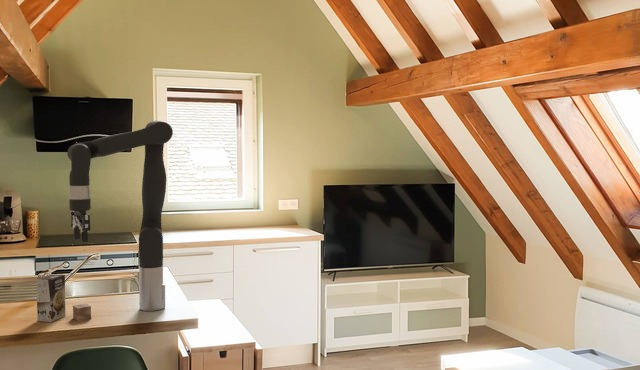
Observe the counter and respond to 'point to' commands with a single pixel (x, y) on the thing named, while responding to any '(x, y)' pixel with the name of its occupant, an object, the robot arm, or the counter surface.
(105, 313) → the counter surface
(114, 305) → the counter surface
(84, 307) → the walnut cube
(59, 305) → the coffee box
